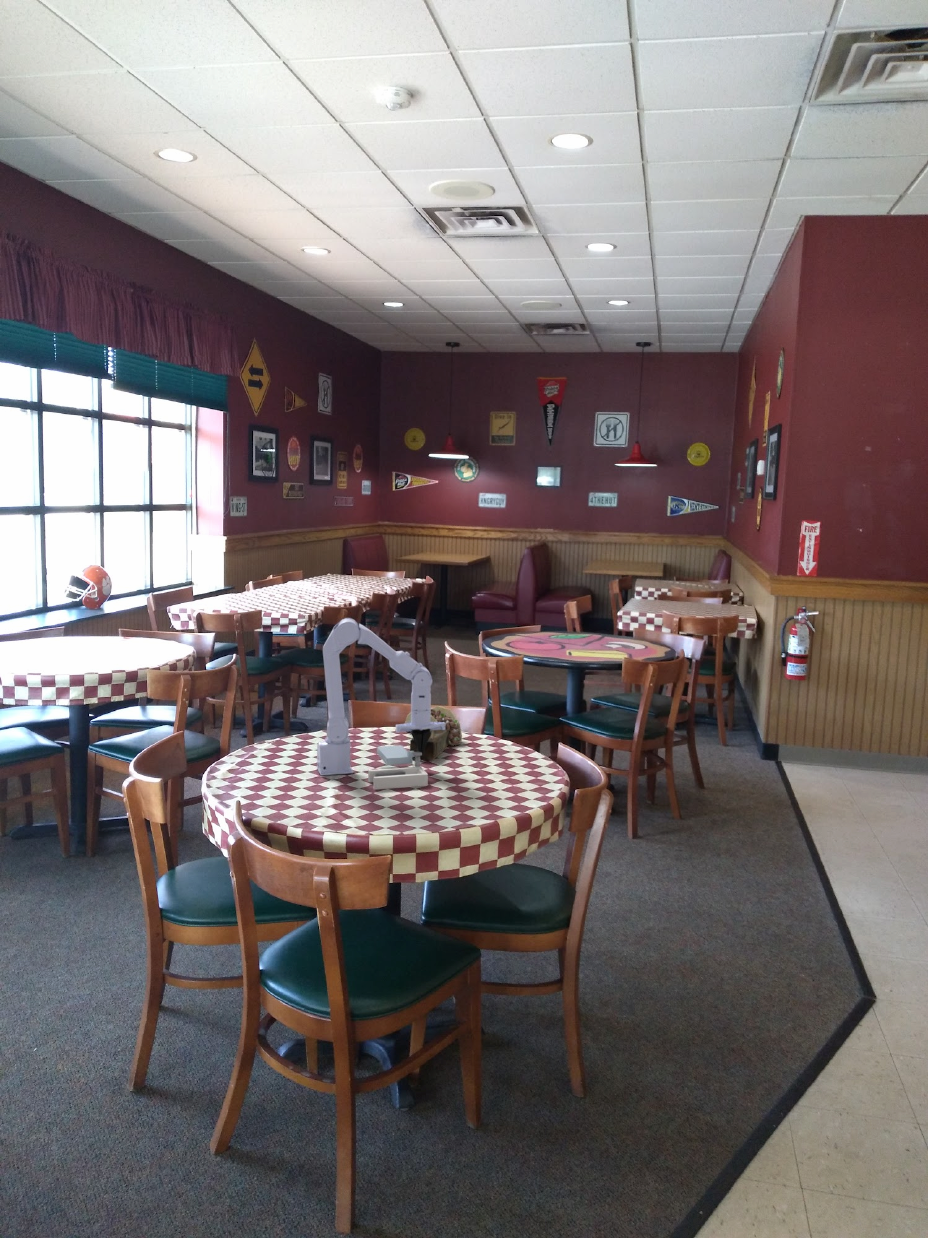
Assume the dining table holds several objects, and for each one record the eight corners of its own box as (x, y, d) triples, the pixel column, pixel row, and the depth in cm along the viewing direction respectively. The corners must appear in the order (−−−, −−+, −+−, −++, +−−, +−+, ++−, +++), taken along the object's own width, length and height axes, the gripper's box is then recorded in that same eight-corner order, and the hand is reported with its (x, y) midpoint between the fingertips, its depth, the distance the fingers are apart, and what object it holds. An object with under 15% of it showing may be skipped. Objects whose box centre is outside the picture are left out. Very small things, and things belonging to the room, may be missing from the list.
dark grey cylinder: (378, 780, 251) (376, 771, 253) (376, 786, 253) (374, 777, 255) (406, 778, 254) (404, 769, 255) (404, 784, 256) (402, 775, 258)
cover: (377, 753, 271) (377, 742, 271) (409, 751, 274) (409, 740, 274) (388, 767, 256) (388, 756, 256) (422, 765, 259) (422, 753, 259)
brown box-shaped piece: (450, 746, 295) (450, 726, 294) (433, 762, 277) (434, 741, 276) (426, 744, 297) (426, 724, 296) (408, 760, 278) (408, 739, 278)
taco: (420, 728, 319) (420, 699, 318) (469, 744, 299) (470, 713, 297) (397, 732, 313) (397, 703, 312) (446, 748, 292) (447, 717, 291)
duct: (374, 789, 248) (374, 767, 247) (367, 779, 257) (367, 758, 256) (428, 785, 252) (428, 763, 252) (419, 775, 262) (419, 754, 261)
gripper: (399, 713, 260) (399, 760, 261) (448, 710, 264) (447, 756, 266) (394, 708, 266) (393, 753, 268) (441, 705, 271) (441, 750, 272)
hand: (420, 755), depth 267 cm, fingers closed
